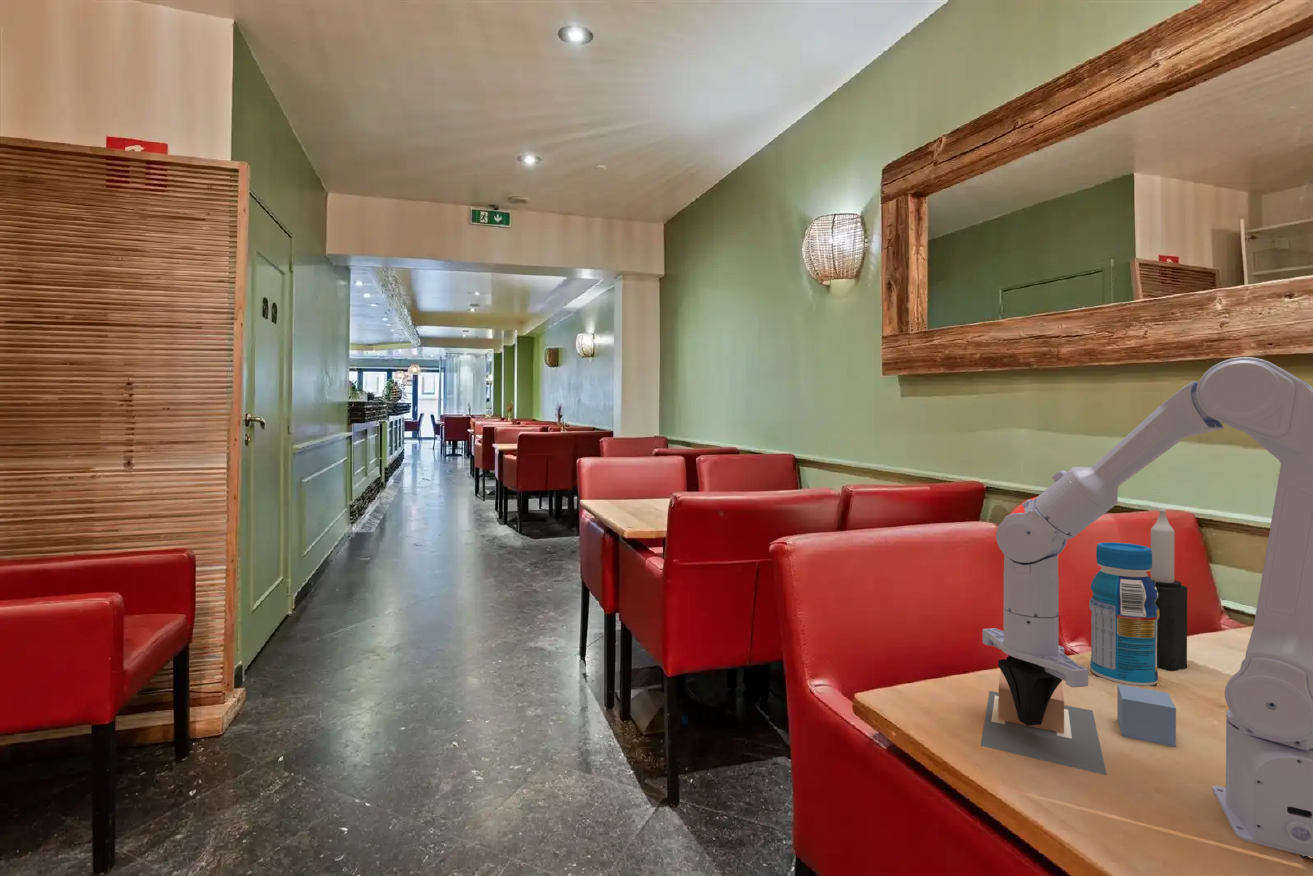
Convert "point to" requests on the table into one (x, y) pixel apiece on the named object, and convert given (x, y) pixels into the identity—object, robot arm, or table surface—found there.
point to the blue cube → (1146, 715)
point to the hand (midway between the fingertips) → (1030, 722)
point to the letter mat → (1047, 738)
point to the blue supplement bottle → (1124, 615)
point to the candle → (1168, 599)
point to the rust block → (1053, 712)
